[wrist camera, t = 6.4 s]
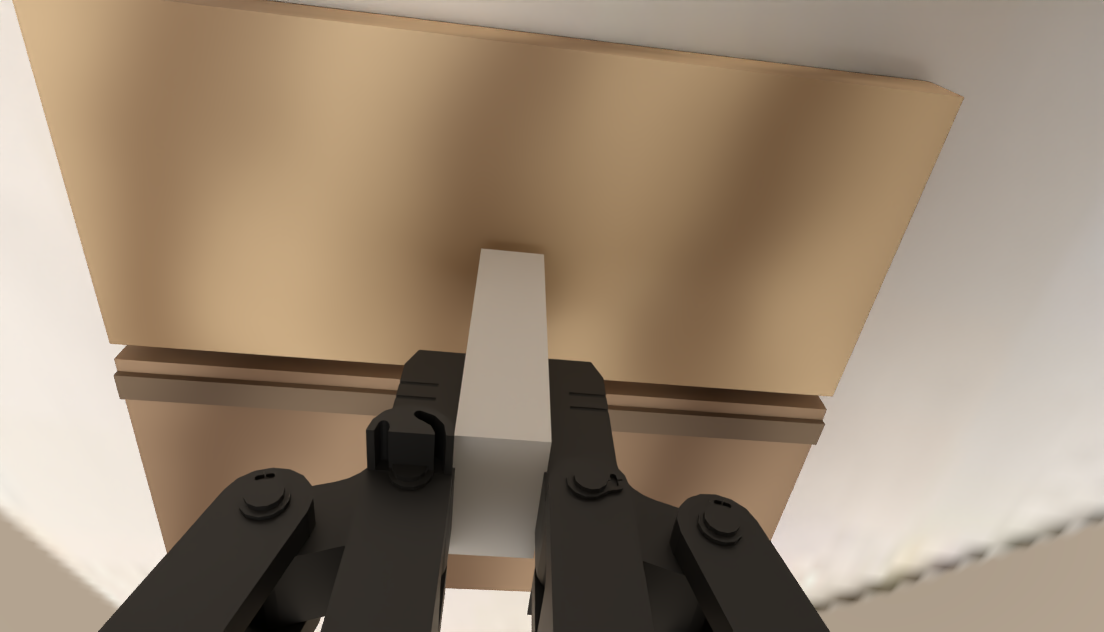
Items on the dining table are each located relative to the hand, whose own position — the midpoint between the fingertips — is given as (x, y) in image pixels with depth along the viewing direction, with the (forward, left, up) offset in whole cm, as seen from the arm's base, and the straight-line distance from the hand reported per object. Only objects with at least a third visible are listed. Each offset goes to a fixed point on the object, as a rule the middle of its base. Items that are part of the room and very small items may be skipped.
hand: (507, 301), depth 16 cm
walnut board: (0, +8, -2) cm, 8 cm away
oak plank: (0, -2, -2) cm, 3 cm away
